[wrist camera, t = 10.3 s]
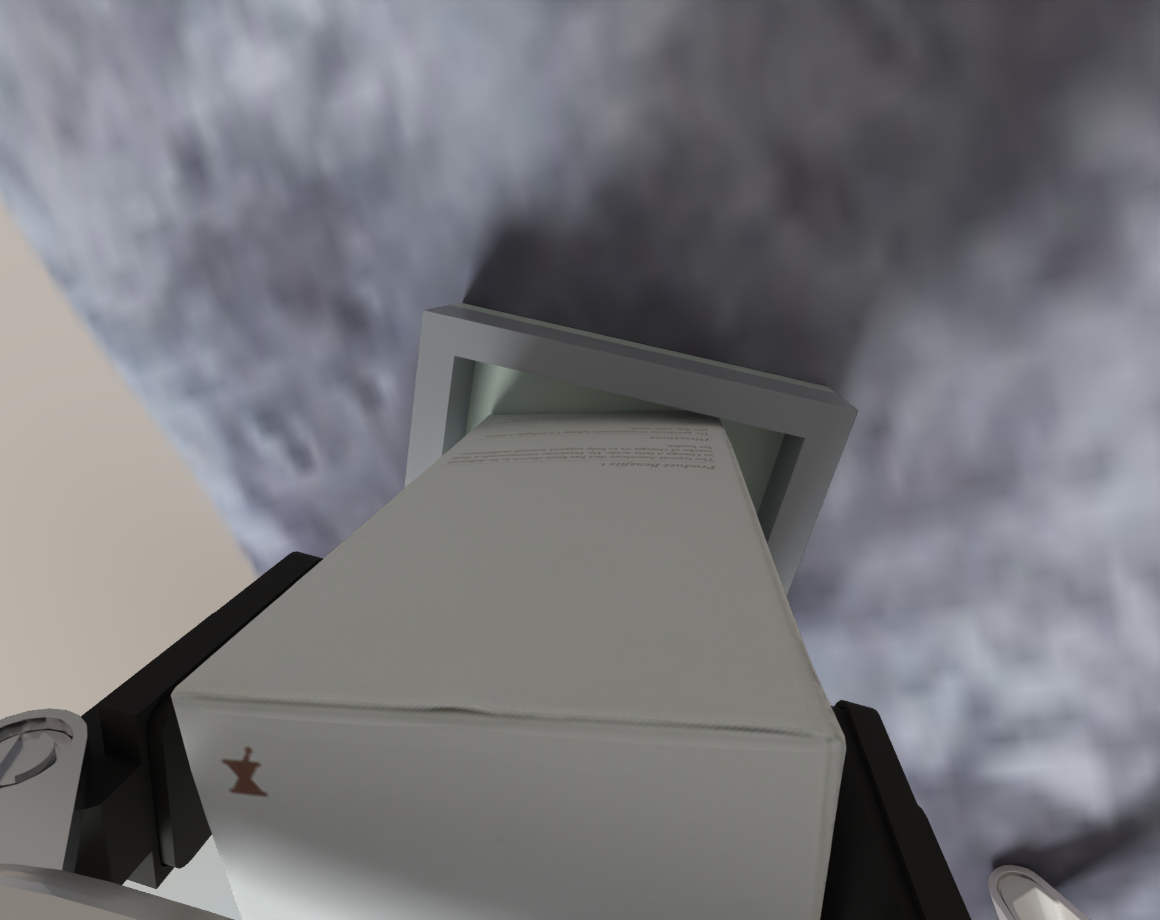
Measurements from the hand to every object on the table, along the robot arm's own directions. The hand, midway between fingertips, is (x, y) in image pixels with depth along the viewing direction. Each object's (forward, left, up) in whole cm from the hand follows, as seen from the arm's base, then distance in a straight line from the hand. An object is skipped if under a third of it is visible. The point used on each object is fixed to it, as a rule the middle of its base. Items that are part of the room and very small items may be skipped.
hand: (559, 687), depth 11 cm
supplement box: (0, 0, -9) cm, 9 cm away
